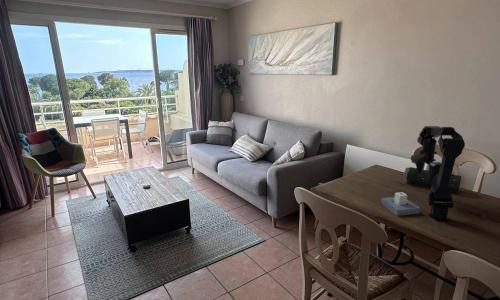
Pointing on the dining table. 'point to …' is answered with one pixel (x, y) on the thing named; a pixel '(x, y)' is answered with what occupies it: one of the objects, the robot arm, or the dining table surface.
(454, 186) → the muzzle brake
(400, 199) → the block
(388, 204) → the socket plate
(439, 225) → the dining table surface
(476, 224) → the dining table surface
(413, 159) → the robot arm
